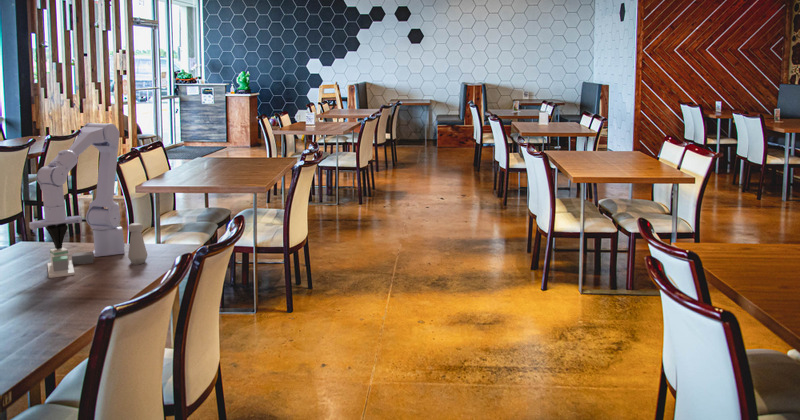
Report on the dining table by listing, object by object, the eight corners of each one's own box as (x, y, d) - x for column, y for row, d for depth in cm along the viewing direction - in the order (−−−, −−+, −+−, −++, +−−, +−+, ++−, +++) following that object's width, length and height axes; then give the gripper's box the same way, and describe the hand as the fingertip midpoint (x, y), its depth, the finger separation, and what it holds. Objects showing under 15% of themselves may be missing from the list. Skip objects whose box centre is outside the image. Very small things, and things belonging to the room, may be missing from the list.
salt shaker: (150, 260, 221) (148, 222, 218) (142, 265, 215) (139, 226, 213) (133, 260, 221) (131, 221, 219) (125, 264, 216) (122, 225, 213)
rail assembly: (71, 262, 218) (70, 247, 217) (74, 274, 205) (73, 258, 204) (47, 265, 215) (46, 249, 214) (48, 277, 202) (47, 261, 201)
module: (69, 265, 210) (67, 249, 209) (55, 267, 207) (53, 252, 206) (65, 262, 213) (63, 247, 212) (51, 264, 210) (49, 249, 209)
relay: (93, 260, 222) (93, 251, 221) (93, 263, 218) (92, 254, 217) (73, 261, 220) (72, 253, 219) (72, 265, 216) (71, 256, 215)
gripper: (74, 200, 214) (78, 241, 216) (24, 206, 204) (29, 249, 207) (82, 203, 209) (86, 246, 211) (31, 210, 199) (36, 254, 202)
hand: (58, 248), depth 209 cm, fingers closed
